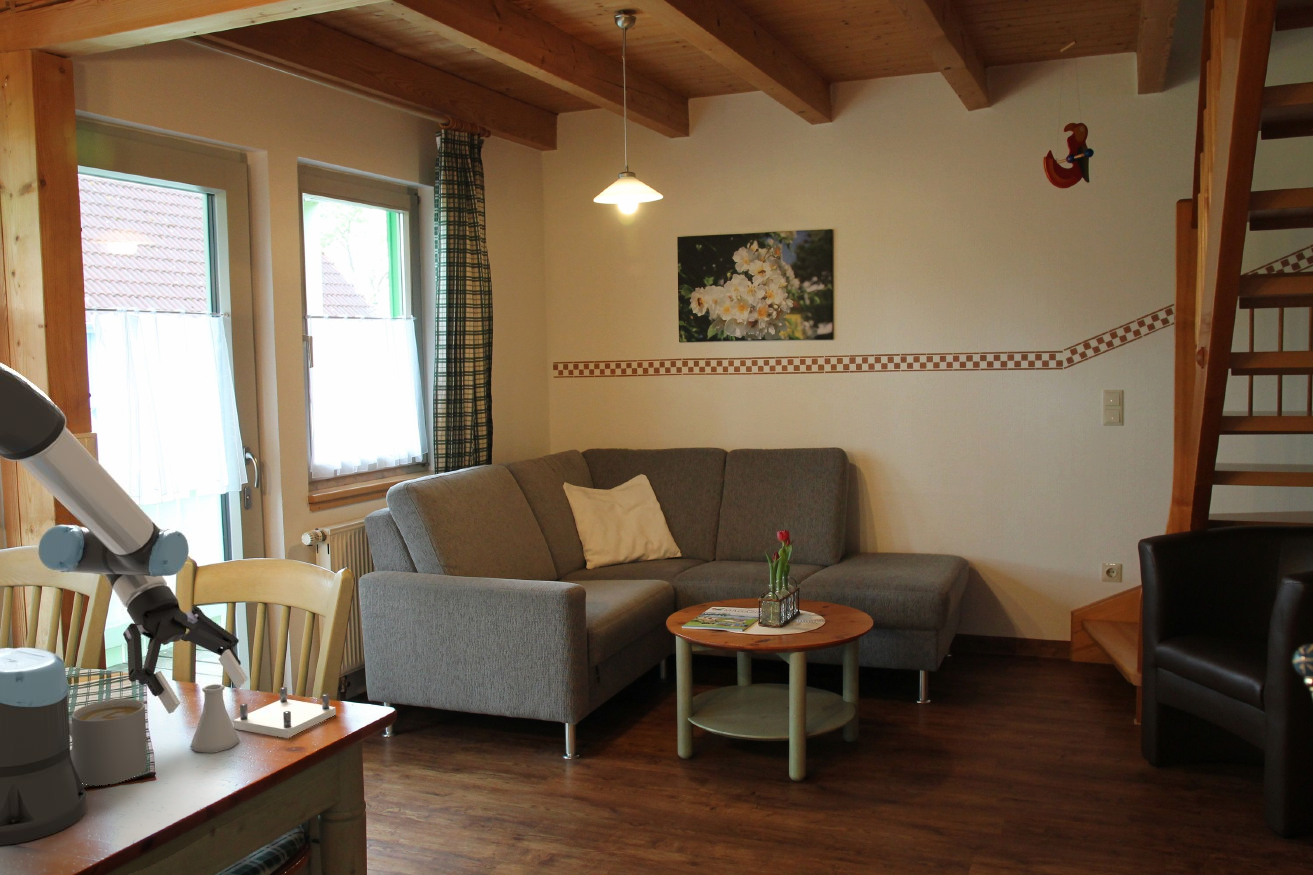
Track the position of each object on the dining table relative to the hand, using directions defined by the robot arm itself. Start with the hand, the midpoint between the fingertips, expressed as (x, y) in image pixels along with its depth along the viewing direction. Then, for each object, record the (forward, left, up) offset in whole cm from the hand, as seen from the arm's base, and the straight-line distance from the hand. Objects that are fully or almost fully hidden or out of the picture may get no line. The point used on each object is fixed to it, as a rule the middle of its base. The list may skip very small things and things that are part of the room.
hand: (210, 695), depth 170 cm
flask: (-2, -3, -8) cm, 8 cm away
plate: (+11, -6, -8) cm, 15 cm away
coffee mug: (-17, +5, -8) cm, 19 cm away
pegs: (+11, -6, -6) cm, 14 cm away
